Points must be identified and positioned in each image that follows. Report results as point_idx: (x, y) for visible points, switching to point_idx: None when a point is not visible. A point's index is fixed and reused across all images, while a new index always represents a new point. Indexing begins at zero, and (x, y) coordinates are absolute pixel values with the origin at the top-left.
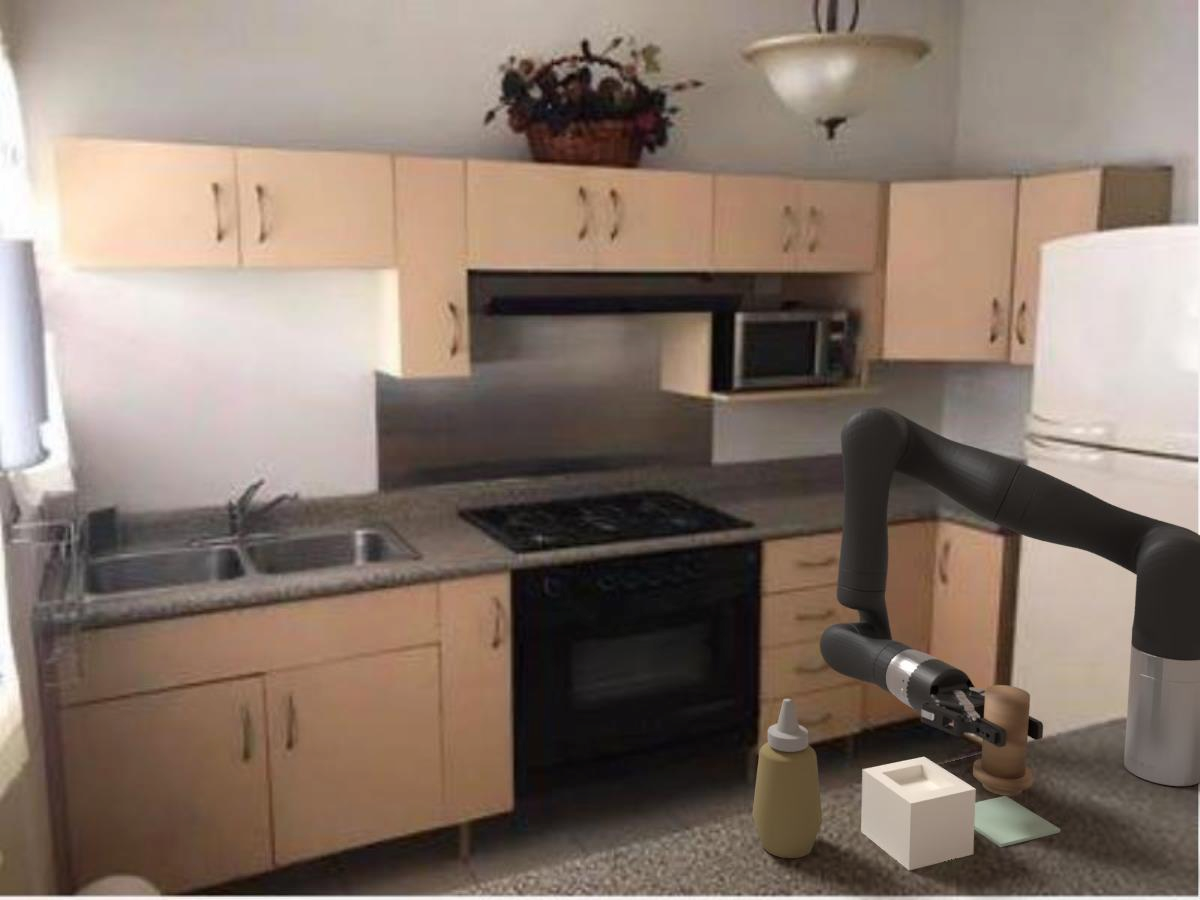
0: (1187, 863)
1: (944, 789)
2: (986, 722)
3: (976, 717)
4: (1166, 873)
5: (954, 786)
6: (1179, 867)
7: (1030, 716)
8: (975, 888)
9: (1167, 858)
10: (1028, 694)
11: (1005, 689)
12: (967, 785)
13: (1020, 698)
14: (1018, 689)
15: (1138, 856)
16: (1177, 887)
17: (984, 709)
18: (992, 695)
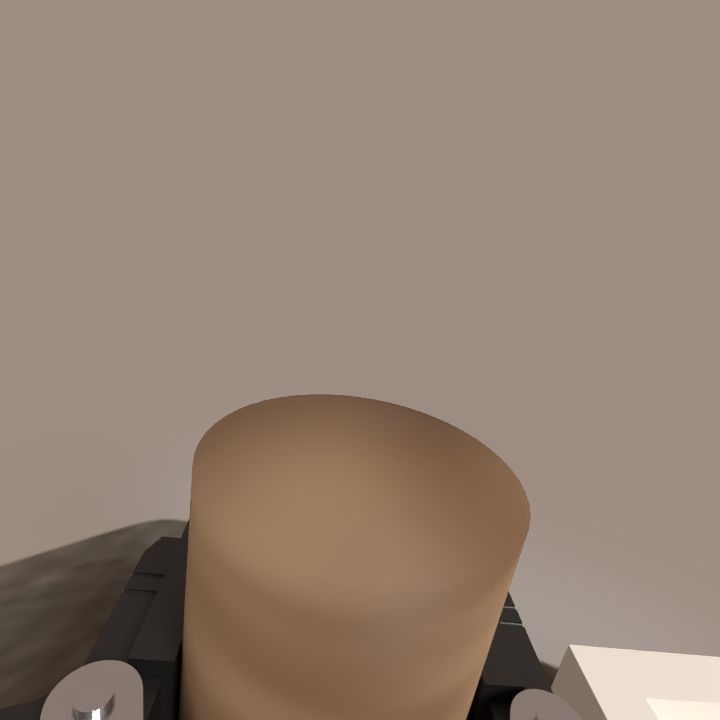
0: (62, 549)
1: (692, 689)
2: (500, 626)
3: (547, 699)
4: (143, 549)
5: (648, 691)
6: (95, 549)
7: (168, 572)
8: (552, 672)
9: (70, 574)
10: (245, 411)
11: (328, 492)
12: (593, 676)
13: (346, 409)
14: (225, 459)
15: (112, 603)
16: (179, 523)
17: (482, 668)
18: (504, 478)
